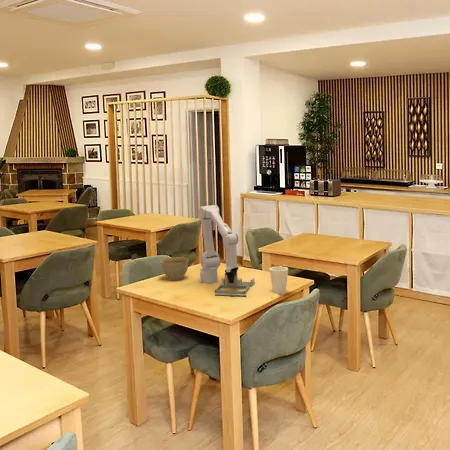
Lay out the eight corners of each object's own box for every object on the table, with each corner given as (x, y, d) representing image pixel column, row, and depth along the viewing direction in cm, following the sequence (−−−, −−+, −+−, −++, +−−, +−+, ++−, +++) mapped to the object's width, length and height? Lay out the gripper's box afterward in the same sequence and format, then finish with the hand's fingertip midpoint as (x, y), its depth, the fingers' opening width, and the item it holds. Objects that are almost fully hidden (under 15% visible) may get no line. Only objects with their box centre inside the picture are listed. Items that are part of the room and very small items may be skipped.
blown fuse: (226, 285, 290) (226, 274, 289) (228, 284, 293) (227, 272, 292) (236, 285, 289) (235, 274, 288) (237, 284, 291) (237, 273, 290)
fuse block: (251, 289, 297) (251, 281, 296) (220, 288, 301) (220, 280, 300) (255, 284, 306) (255, 276, 306) (225, 283, 311) (224, 275, 310)
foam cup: (283, 296, 283) (283, 271, 281) (267, 294, 288) (266, 269, 285) (291, 291, 291) (291, 267, 288) (275, 289, 295) (275, 265, 293)
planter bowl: (169, 274, 336) (168, 256, 334) (193, 275, 330) (193, 257, 328) (156, 281, 321) (155, 262, 319) (182, 283, 315) (181, 264, 314)
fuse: (224, 284, 304) (224, 273, 303) (226, 282, 307) (226, 272, 306) (233, 284, 303) (233, 273, 302) (235, 283, 305) (234, 272, 304)
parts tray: (214, 295, 288) (214, 290, 288) (220, 289, 299) (220, 284, 298) (245, 297, 284) (244, 291, 284) (249, 291, 295) (249, 285, 294)
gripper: (235, 260, 280) (236, 286, 282) (241, 253, 294) (242, 278, 296) (221, 259, 282) (222, 285, 284) (228, 253, 296) (229, 278, 298)
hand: (232, 282), depth 290 cm, fingers closed on blown fuse, 3 cm apart
